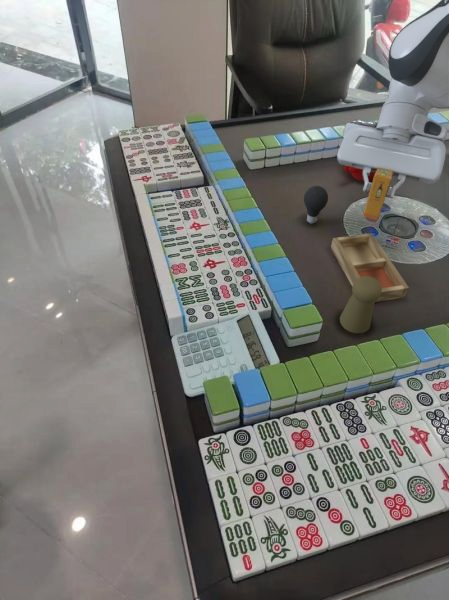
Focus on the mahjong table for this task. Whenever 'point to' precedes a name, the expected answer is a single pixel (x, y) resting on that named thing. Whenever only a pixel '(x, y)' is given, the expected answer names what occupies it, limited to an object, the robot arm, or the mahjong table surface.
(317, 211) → the light bulb
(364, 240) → the sorting tray
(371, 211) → the supplement box
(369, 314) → the olive pawn figure
